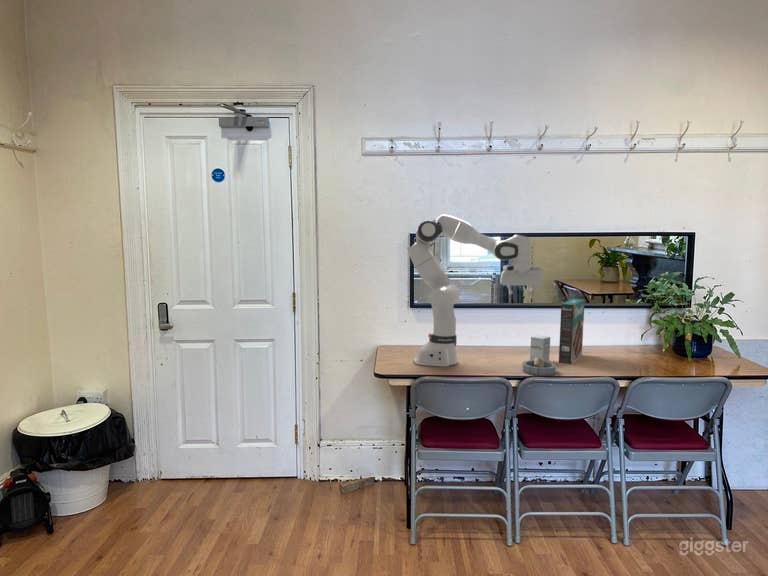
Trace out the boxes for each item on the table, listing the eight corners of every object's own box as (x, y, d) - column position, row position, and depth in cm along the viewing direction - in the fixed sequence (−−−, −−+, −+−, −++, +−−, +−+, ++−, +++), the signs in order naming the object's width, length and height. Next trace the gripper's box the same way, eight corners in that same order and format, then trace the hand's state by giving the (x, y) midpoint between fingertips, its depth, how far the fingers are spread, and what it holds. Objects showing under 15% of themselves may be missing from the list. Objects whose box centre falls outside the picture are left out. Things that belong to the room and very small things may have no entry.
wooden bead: (535, 370, 251) (535, 359, 250) (533, 368, 255) (533, 357, 254) (544, 370, 250) (544, 360, 250) (542, 368, 255) (542, 357, 254)
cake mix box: (570, 364, 266) (573, 304, 262) (558, 362, 269) (561, 303, 265) (581, 355, 284) (584, 299, 280) (570, 353, 287) (572, 298, 283)
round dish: (526, 375, 246) (526, 368, 245) (519, 366, 261) (519, 359, 260) (559, 376, 245) (559, 368, 245) (550, 367, 260) (551, 360, 259)
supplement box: (529, 360, 272) (530, 336, 271) (536, 358, 278) (537, 334, 276) (542, 363, 267) (543, 338, 266) (549, 360, 272) (550, 336, 271)
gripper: (540, 266, 270) (539, 293, 271) (499, 266, 271) (499, 293, 272) (543, 267, 263) (542, 295, 265) (502, 267, 264) (501, 294, 266)
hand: (520, 294), depth 269 cm, fingers open, 8 cm apart
